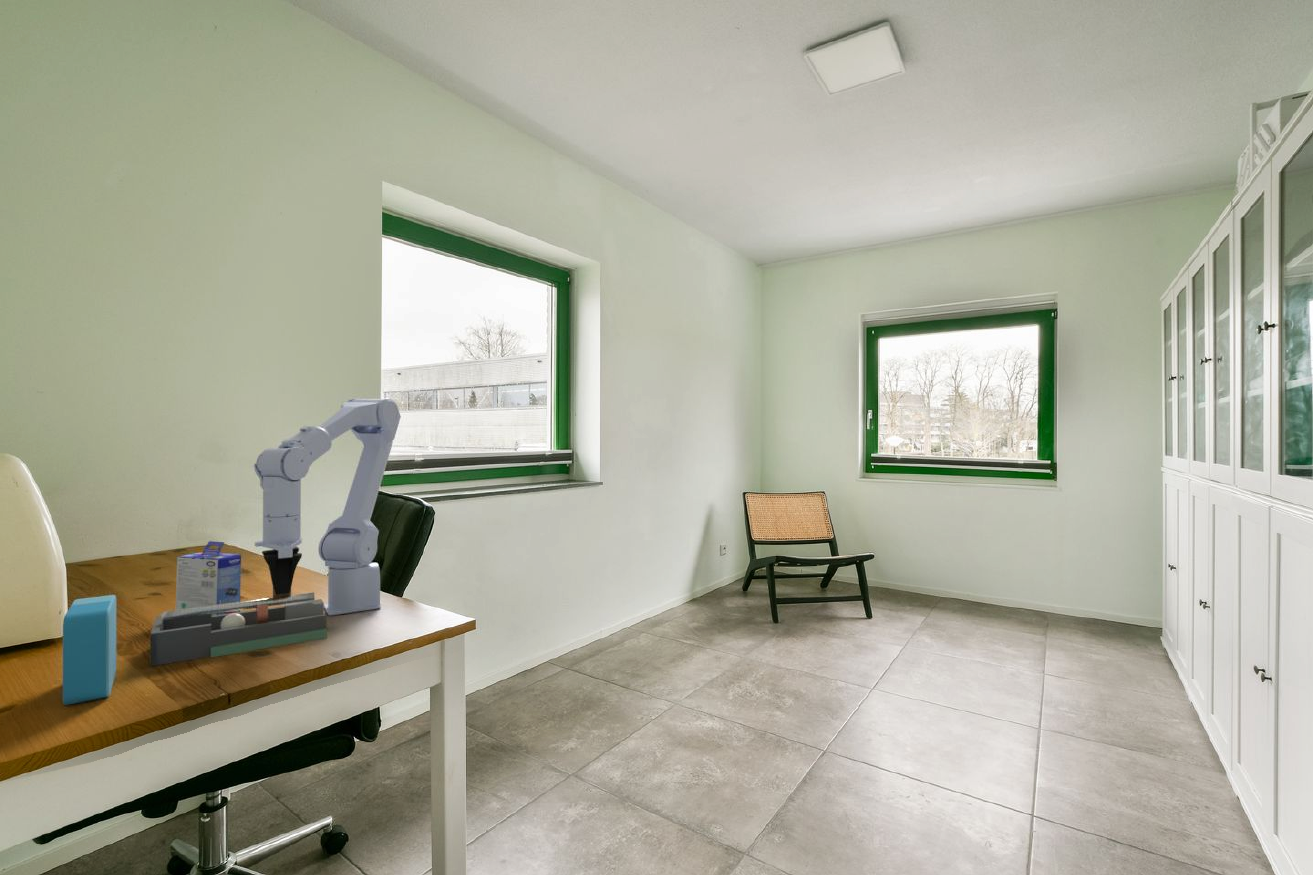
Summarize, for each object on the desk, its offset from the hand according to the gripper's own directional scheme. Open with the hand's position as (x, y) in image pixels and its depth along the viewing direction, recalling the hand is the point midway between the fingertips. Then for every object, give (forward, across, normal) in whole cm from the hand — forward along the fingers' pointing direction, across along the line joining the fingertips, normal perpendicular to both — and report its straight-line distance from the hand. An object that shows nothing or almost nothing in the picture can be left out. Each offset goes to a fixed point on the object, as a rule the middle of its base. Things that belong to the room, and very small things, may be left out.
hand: (281, 591), depth 108 cm
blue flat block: (+8, +11, -24) cm, 27 cm away
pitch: (+8, 0, -6) cm, 10 cm away
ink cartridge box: (+8, -19, -10) cm, 23 cm away
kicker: (+6, 0, -6) cm, 8 cm away
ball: (+5, 0, -7) cm, 8 cm away
